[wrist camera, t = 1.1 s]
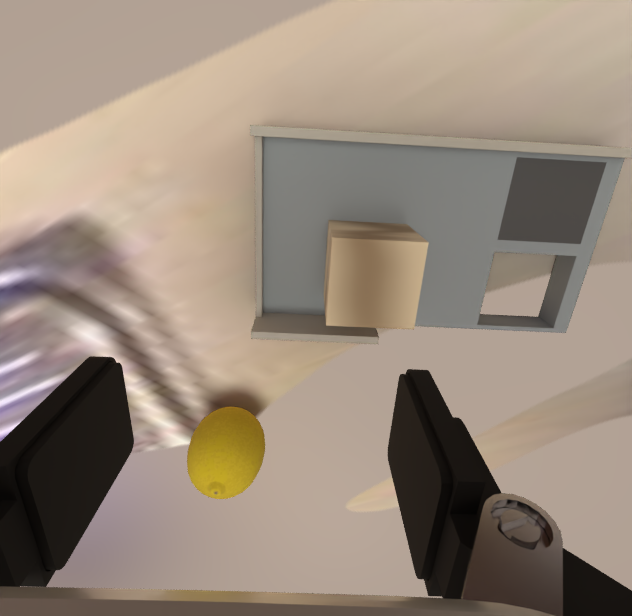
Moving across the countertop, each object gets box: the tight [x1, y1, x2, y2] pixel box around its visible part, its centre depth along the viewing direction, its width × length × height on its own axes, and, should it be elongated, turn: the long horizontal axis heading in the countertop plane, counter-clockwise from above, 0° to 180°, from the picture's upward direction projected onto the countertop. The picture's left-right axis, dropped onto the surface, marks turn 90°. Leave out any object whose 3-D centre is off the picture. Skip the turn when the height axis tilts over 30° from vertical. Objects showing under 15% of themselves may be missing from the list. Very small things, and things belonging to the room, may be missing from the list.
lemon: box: [187, 407, 265, 499], centre depth 29 cm, size 6×6×8 cm
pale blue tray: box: [250, 125, 632, 344], centre depth 25 cm, size 22×12×5 cm, turn 87°
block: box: [324, 220, 429, 329], centre depth 23 cm, size 5×5×5 cm
